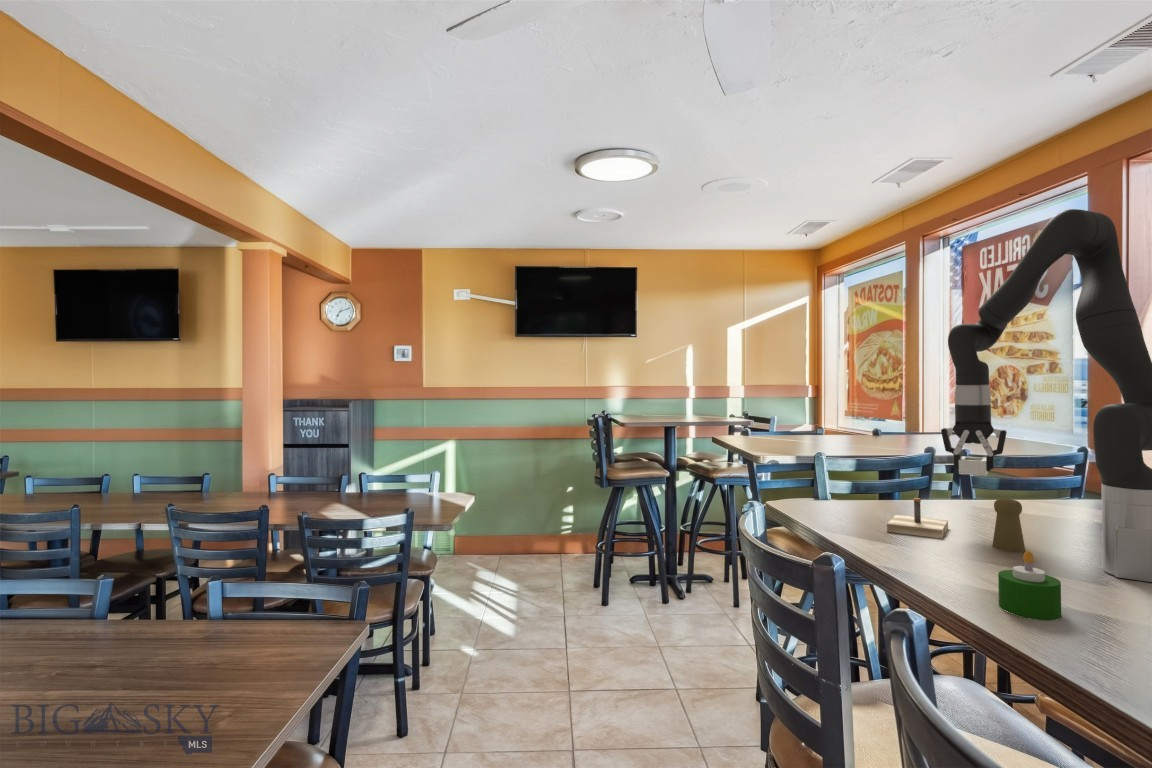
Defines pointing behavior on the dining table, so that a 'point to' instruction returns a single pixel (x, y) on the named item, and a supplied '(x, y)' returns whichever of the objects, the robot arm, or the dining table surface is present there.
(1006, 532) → the cork
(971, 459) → the white hollow block
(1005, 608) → the candle
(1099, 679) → the dining table surface
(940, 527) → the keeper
